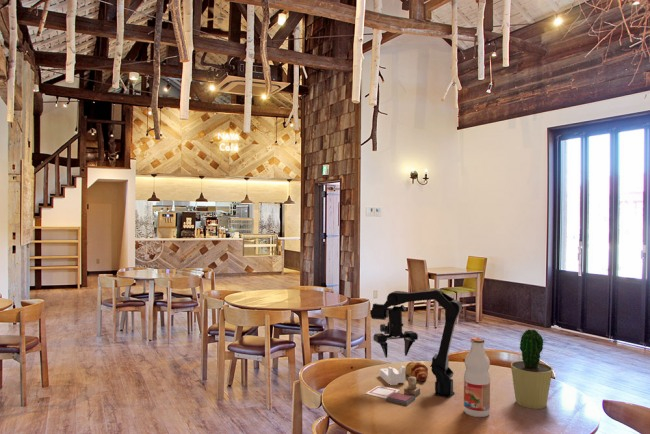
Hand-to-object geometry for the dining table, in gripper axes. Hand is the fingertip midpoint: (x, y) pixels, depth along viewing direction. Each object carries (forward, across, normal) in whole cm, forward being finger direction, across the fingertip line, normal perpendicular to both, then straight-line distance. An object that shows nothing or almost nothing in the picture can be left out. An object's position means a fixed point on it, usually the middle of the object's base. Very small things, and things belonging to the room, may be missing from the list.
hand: (396, 356), depth 217 cm
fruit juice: (+14, -17, +34) cm, 41 cm away
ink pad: (+13, +5, +15) cm, 21 cm away
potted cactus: (+15, -44, +32) cm, 56 cm away
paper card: (+13, +8, +5) cm, 16 cm away
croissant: (+14, -16, -11) cm, 23 cm away
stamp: (+13, -2, +10) cm, 17 cm away
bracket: (+13, -2, -9) cm, 16 cm away
